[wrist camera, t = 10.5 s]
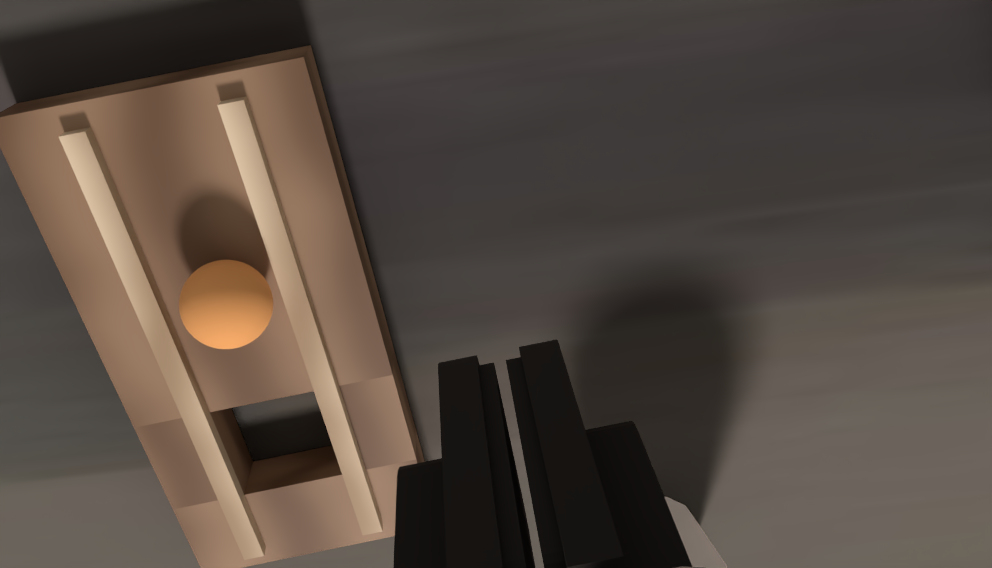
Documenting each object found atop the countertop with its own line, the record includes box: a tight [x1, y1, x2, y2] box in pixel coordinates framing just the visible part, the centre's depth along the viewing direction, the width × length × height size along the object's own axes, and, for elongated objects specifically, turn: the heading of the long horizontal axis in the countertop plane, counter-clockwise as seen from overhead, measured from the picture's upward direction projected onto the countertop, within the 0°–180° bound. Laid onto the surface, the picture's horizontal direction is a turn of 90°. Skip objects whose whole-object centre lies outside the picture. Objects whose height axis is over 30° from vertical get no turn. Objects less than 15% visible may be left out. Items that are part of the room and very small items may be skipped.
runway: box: [0, 45, 425, 568], centre depth 36 cm, size 12×24×3 cm, turn 10°
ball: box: [179, 260, 273, 349], centre depth 32 cm, size 4×4×4 cm
